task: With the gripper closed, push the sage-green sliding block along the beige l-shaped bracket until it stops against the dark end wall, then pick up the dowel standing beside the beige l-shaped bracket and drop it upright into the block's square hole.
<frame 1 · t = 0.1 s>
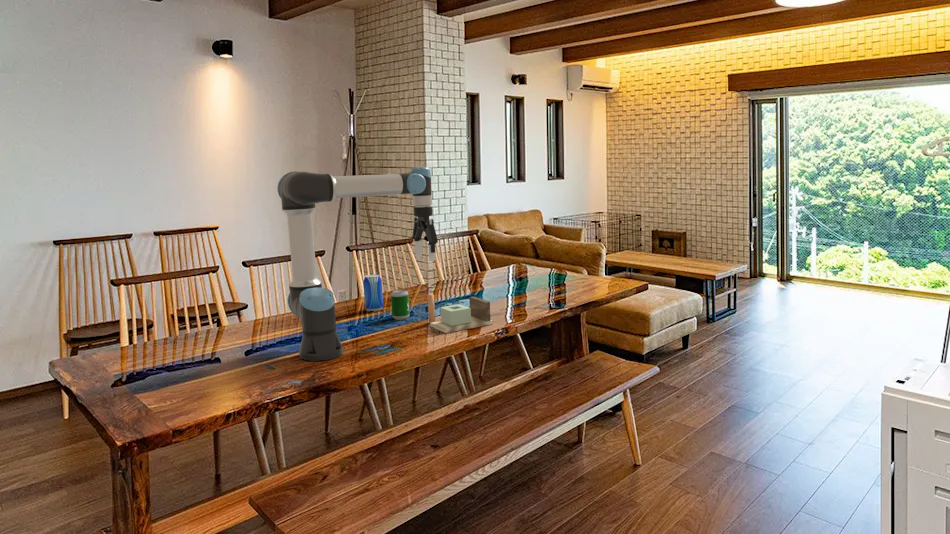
hand: (425, 258, 258), 28 cm above the table, fingers open, 13 cm apart
dowel: (432, 322, 266), on the table
block: (455, 314, 259), point 5 cm above the table, slide at 0.0 cm
beige l-shaped bracket: (461, 325, 261), on the table
soda can: (401, 318, 277), on the table
beer can: (374, 310, 294), on the table
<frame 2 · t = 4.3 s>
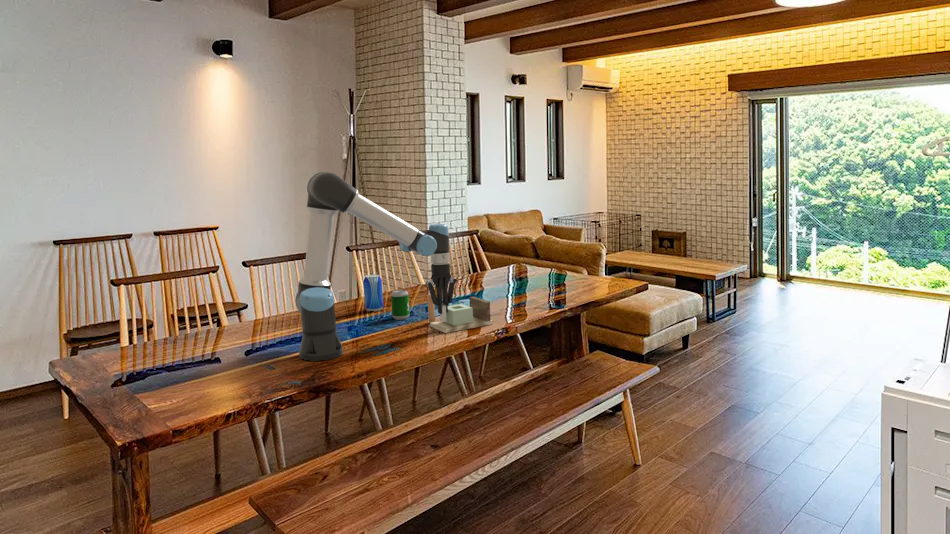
hand: (443, 320, 256), 3 cm above the table, fingers closed
block: (457, 314, 259), point 5 cm above the table, slide at 1.0 cm, touching gripper
everything else where it was.
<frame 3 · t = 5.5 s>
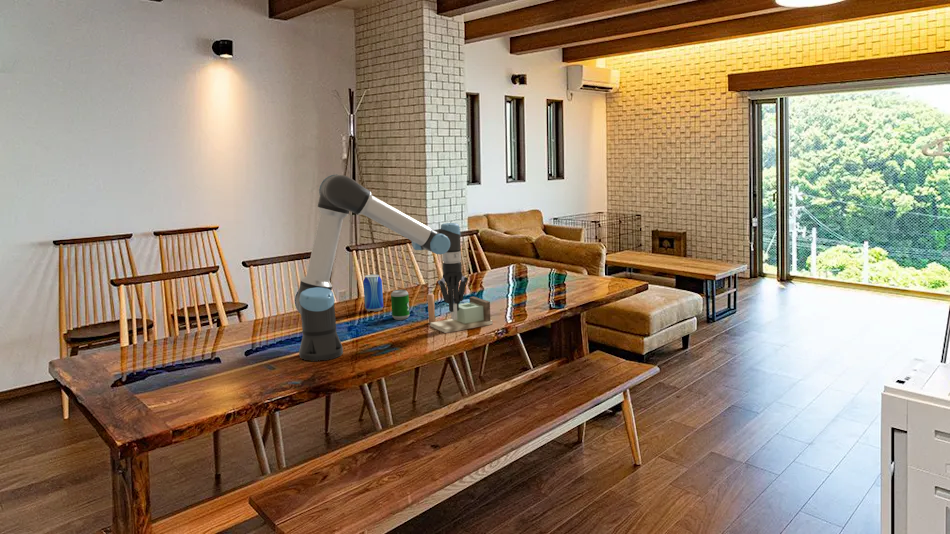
hand: (454, 319, 259), 3 cm above the table, fingers closed
block: (468, 312, 262), point 5 cm above the table, slide at 6.0 cm, touching beige l-shaped bracket, gripper
everything else where it was.
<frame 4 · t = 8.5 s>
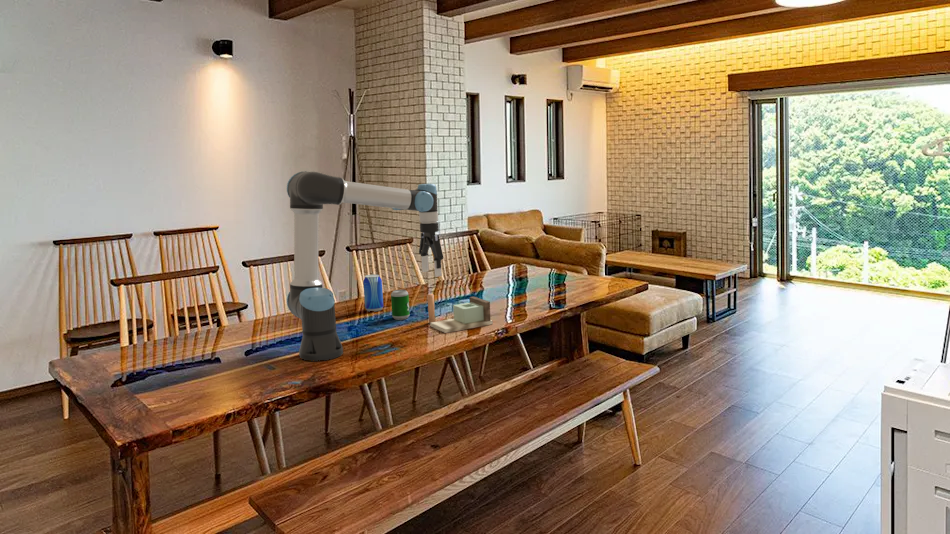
hand: (431, 273, 261), 21 cm above the table, fingers open, 13 cm apart
block: (468, 312, 262), point 5 cm above the table, slide at 6.0 cm, touching beige l-shaped bracket
everything else where it was.
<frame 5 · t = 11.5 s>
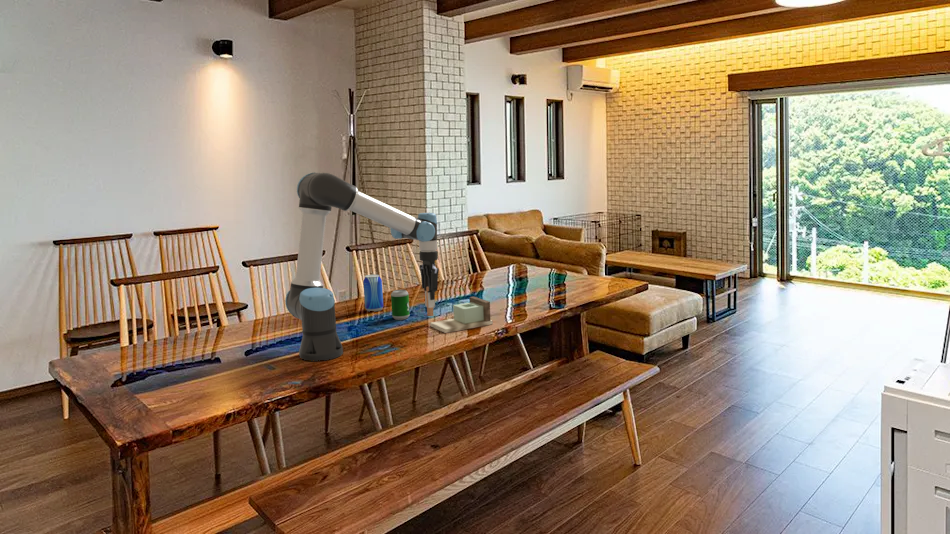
hand: (430, 306, 265), 7 cm above the table, fingers closed on dowel, 2 cm apart
dowel: (430, 315, 266), point 3 cm above the table, touching gripper
everything else where it was.
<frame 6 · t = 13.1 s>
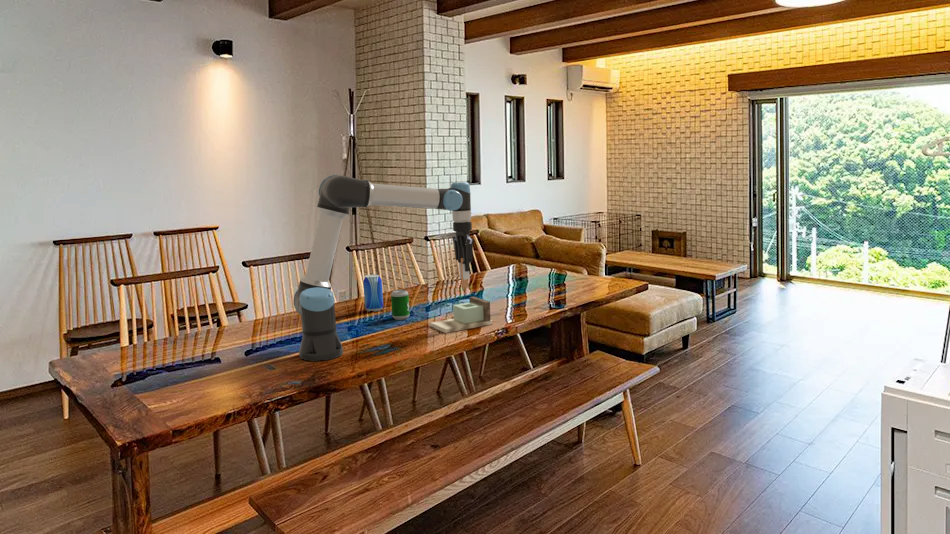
hand: (464, 278, 260), 19 cm above the table, fingers closed on dowel, 2 cm apart
dowel: (465, 287, 261), point 15 cm above the table, touching gripper
everything else where it was.
when the fingers open (9 cm above the table, at t = 15.6 s): dowel drops 4 cm, resting on beige l-shaped bracket.
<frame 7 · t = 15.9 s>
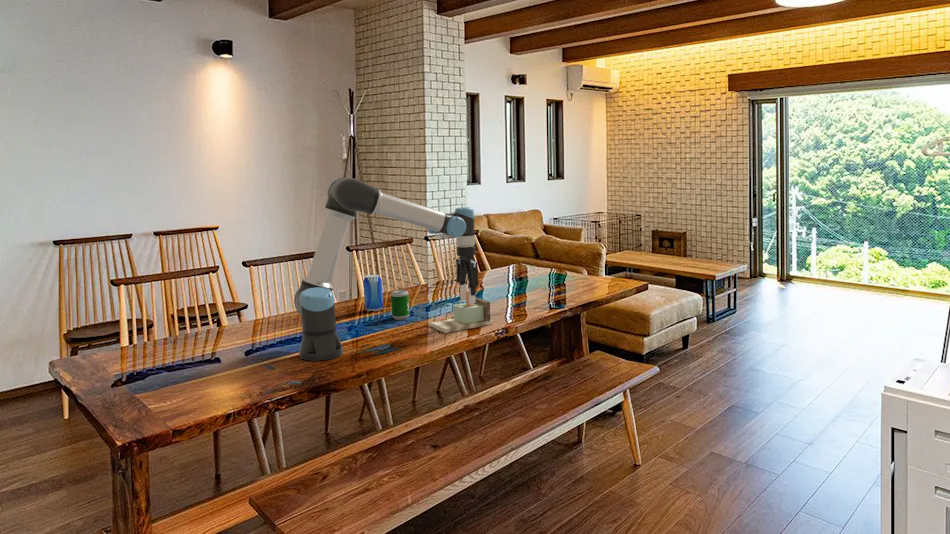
hand: (468, 301, 261), 9 cm above the table, fingers open, 6 cm apart
dowel: (468, 320, 262), point 2 cm above the table, tilted 5°, touching beige l-shaped bracket
everything else where it was.
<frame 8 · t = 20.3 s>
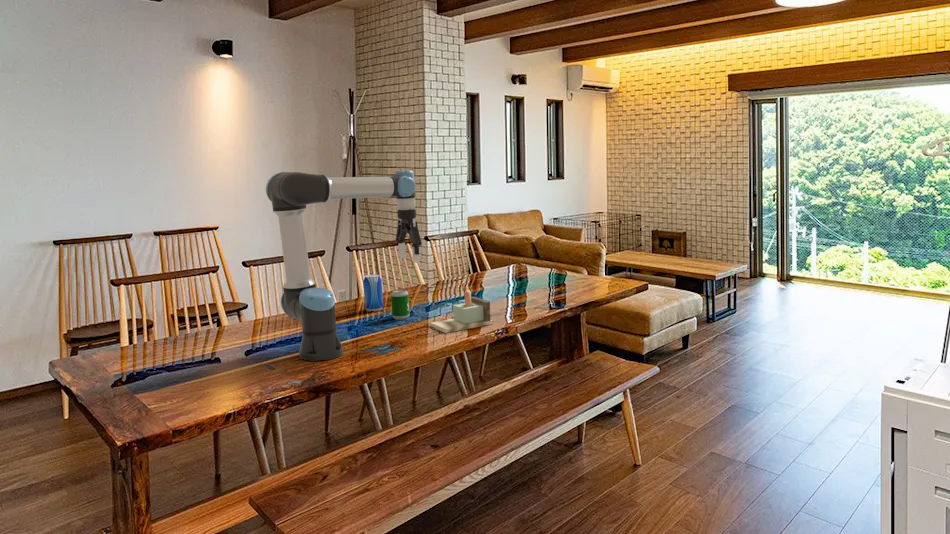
hand: (409, 260, 262), 27 cm above the table, fingers open, 13 cm apart
at the end: block slide at 6.0 cm; dowel 0.1 cm off-centre on the block, point 0.0 cm above the block's base; dowel tilted 0° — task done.
